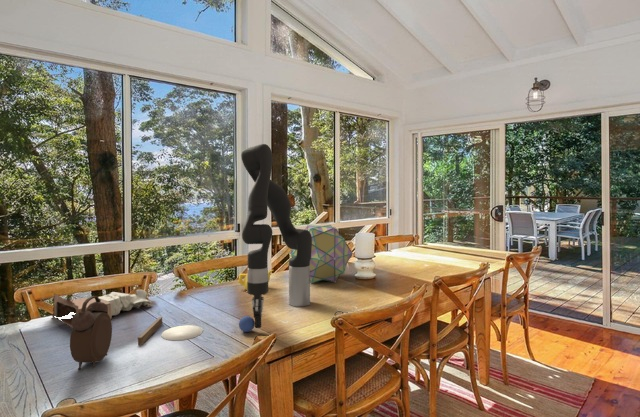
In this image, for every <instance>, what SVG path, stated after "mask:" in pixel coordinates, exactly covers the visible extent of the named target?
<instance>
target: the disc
mask: <svg viewBox="0 0 640 417" xmlns="http://www.w3.org/2000/svg"><path fill="white" fill-rule="evenodd" d="M202 333H203V328H202V327H201V326H199V325H198V326H197V325H194V324H193V325H192V324H190V325H187V324H185V325H178V326H174V327H169V328H168V329H166V330H164V331H162V332H161V338H162V339H164V340H166V341H172V342H173V341H178V342H179V341H186V340H191V339H193V338H196V337H198V336H200V335H201V334H202Z"/></svg>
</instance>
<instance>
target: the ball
mask: <svg viewBox="0 0 640 417" xmlns="http://www.w3.org/2000/svg"><path fill="white" fill-rule="evenodd" d="M238 327H239V329H240V331H241V332H244V333H249V332H251V331H252V330H254V328H255V319H254V317H252V316H249V315H246V316H242V317H241V318H240V320H239V322H238Z"/></svg>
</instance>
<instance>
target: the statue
mask: <svg viewBox="0 0 640 417" xmlns="http://www.w3.org/2000/svg"><path fill="white" fill-rule="evenodd" d="M89 297H90V296H89ZM89 297H88V296H87V297H82V298H76V299H72V298H67V299H66V298H64V297H62V296H61V295H59V294H56V293H53V297H52V300H51V301H52V302H53V308H52V314H51V317H54V316H56V317H62V316H65V315H68V314H69V313H70V312H74V313H76V314H77V313H78V312H80V311H81V310H82V305H83V303H84V301H85V300H86V299H88V298H89ZM98 298H99V299H100V300H101V301H100V302H103V303H105V304H106V305H107V307H108V313H107V314H108V315H109V317H110V319H111V320H112V319H113V318H112V316H117V315H119V314H120V313H121V311H122V312H125V311H127V312H129V311H131V310H132V309H133V308H137V307H138V306H145V307H146V306H147V305H148V304H151V305H152V304H153V302H152V301H151V300H150V299H148V298H147V291H145V290H144V289H136V290H135V294H134V293H133V294H129V293H124V292H115V291H112V292H109V293H108V294H105V295H102V296H98ZM93 302H96V300H95V298H93V299H91V300H90V301H89V302H88V303H87V306H86V310H87V307H88V306H89V304H91V303H93ZM86 310H85V311H86ZM61 320H62V321H63V322H64V323H66V324H67V325H66V324H65V325H66V326H68V325H69V326H70V327H69V326H68V327H69V328H71V327H72V318H71V319H61ZM63 322H62V323H63ZM64 323H63V324H64ZM71 329H73V327H72V328H71ZM69 335H71V332H70V333H69Z"/></svg>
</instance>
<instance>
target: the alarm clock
mask: <svg viewBox="0 0 640 417" xmlns="http://www.w3.org/2000/svg"><path fill="white" fill-rule="evenodd" d="M98 297H99V296H97V295H92V296H89V298H88V299H86V300H85V301H84V303H83V305H82V310H81V311H80V312H78V313H77V314H75V315H73V316H74V317H73V318H72V327H73V328H71V332H70V333H71V334H70V335H69V336H70V337H69V349H70V353H71V357H72V359H73V360H74V362H77V363H78V368H77V370H78V371H81V369H82V368H81V367H82V364H83V363H86V364H87V363H90V364H91V363H92V368H96V362H97V363H98V362H101V361H103V359H104V358H105V357H107V356H108V352H109V349H110V346H111V343H112V342H111V341H112V336H113V325H112V324H113V322H112V318H111V319H110V317H109V315H108V314H107V313H108V307H107V305H106V304H105V303H103V302H100V301H101V300H100V299H99V298H98ZM93 298H95V300H96V302H93V303H91V304H89V306H88V307H87V310H86V306H87V303H88V302H89V301H90V300H91V299H93ZM85 310H86V311H85Z"/></svg>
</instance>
